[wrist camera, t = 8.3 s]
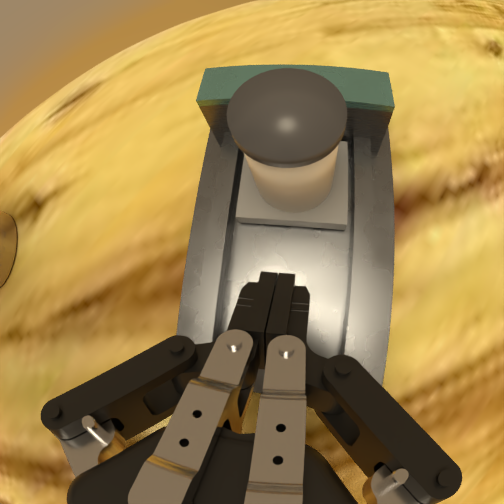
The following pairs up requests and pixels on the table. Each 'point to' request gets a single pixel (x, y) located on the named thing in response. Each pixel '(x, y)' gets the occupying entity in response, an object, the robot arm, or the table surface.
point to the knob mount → (298, 229)
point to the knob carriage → (291, 150)
